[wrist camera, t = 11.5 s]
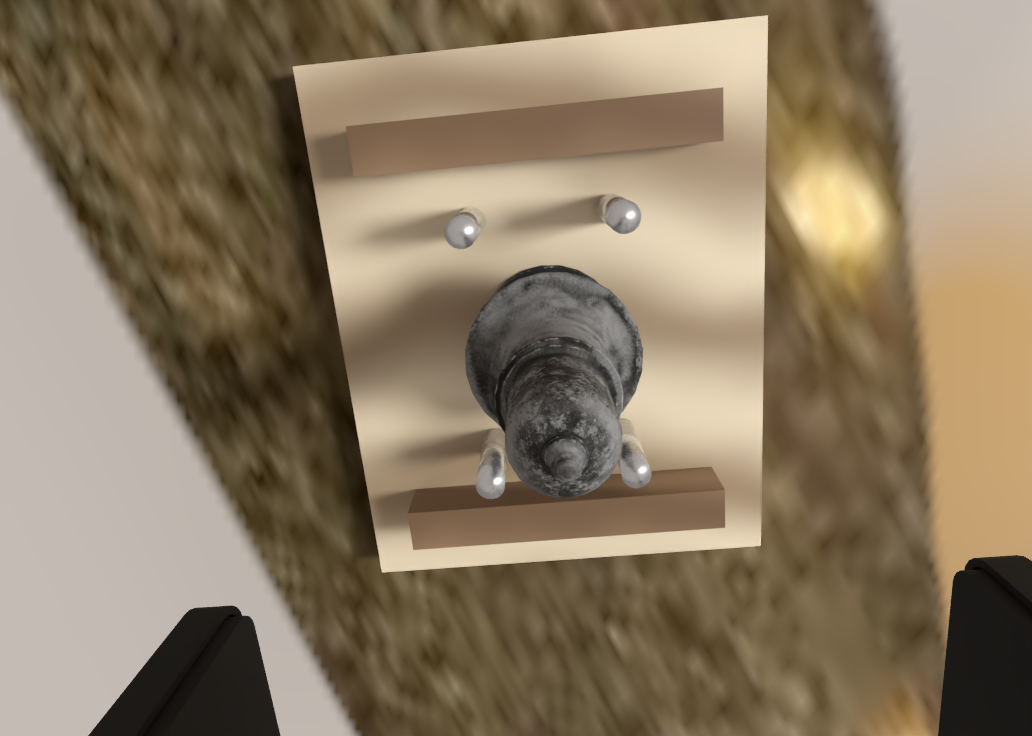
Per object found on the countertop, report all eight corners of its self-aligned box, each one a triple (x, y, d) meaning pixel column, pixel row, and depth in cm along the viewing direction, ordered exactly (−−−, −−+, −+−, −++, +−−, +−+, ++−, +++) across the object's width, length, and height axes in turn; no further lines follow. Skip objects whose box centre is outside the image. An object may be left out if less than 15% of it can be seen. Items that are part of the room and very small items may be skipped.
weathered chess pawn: (640, 266, 25) (735, 358, 13) (614, 415, 27) (679, 609, 15) (481, 247, 25) (440, 324, 13) (465, 397, 26) (417, 579, 15)
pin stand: (749, 527, 30) (796, 606, 24) (389, 552, 30) (359, 635, 25) (753, 24, 24) (816, -14, 18) (306, 72, 25) (245, 48, 19)
